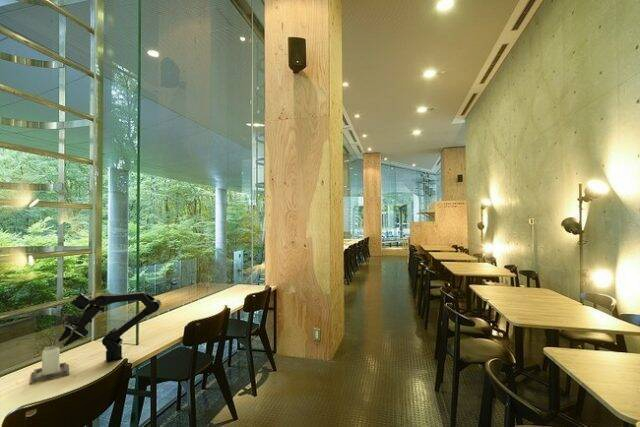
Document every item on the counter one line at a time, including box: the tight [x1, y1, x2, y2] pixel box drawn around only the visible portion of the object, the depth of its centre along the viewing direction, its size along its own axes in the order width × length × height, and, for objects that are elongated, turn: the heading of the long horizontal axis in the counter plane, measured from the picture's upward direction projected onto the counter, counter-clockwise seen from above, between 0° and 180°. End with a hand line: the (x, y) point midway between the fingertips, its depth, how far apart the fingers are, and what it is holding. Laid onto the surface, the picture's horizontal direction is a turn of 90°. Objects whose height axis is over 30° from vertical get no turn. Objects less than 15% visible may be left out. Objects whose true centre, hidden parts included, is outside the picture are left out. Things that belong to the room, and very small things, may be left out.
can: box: [41, 344, 61, 375], centre depth 154 cm, size 6×6×12 cm
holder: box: [29, 362, 70, 386], centre depth 154 cm, size 14×14×2 cm
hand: (61, 343), depth 158 cm, fingers open, 9 cm apart
